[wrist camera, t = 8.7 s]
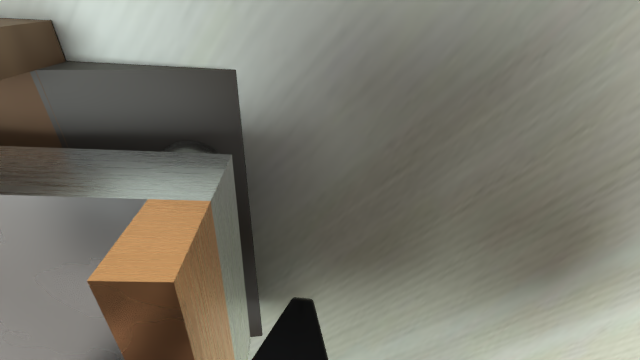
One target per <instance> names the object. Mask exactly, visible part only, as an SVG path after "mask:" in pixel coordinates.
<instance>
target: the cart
mask: <svg viewBox="0 0 640 360" xmlns="http://www.w3.org/2000/svg"><path fill="white" fill-rule="evenodd" d="M249 348H250V331H249V321H248V311H247V301H246V291H245V281H244V271H243V261H242V251H241V241H240V231H239V222H238V212H237V202H236V192H235V182H234V172H233V162H232V154H220V153H219V152H218V151H217V150H216V149H214V148H213V147H211V146H210V145H208V144H206V143H203V142H200V141H193V140H185V141H180V142H176V143H173V144H171V145H169V146H168V147H166V148H165V149H164V150H163V151H161V152H153V151H126V150H99V149H71V148H44V147H17V146H0V360H248V354H249Z"/></svg>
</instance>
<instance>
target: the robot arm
mask: <svg viewBox="0 0 640 360" xmlns="http://www.w3.org/2000/svg"><path fill="white" fill-rule="evenodd" d="M252 360H328V356H327V352H326V348H325V345H324V341H323V337H322V333H321V329H320V325H319V321H318V317H317V313H316V309H315V305H314V302H313V300H312V299H306V298H297V297H294V298H292V299H291V301H290V302H289V304H288V305H287V307H286V308H285V310H284V311H283V313H282V314H281V316H280V318H279V319H278V321H277V322H276V324H275V325H274V327H273V328H272V330H271V331H270V333H269V334H268V336H267V337H266V339H265V340H264V342H263V343H262V345H261V346H260V348H259V350H258V351H257V353H256V354H255V356H254V357H253V359H252Z"/></svg>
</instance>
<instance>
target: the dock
mask: <svg viewBox="0 0 640 360" xmlns="http://www.w3.org/2000/svg"><path fill="white" fill-rule="evenodd" d="M185 140H193V141H200V142H203V143H206V144H208V145H210V146H211V147H213V148H214V149H216V150H217V151H218V152H219V153H220V154H232V162H233V172H234V182H235V192H236V202H237V212H238V222H239V231H240V241H241V251H242V261H243V271H244V281H245V291H246V301H247V311H248V321H249V331H250V337H255V336H262V328H261V318H260V308H259V298H258V288H257V278H256V268H255V258H254V248H253V238H252V228H251V219H250V209H249V199H248V189H247V179H246V169H245V159H244V149H243V139H242V129H241V120H240V110H239V100H238V90H237V80H236V70H227V69H207V68H188V67H169V66H150V65H131V64H112V63H93V62H73V61H65V58H64V55H63V52H62V50H61V47H60V44H59V42H58V39H57V36H56V34H55V31H54V28H53V25H52V23H51V20H30V19H9V18H0V146H17V147H44V148H71V149H99V150H126V151H153V152H161V151H163V150H164V149H165V148H166V147H168V146H169V145H171V144H173V143H176V142H180V141H185Z"/></svg>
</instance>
